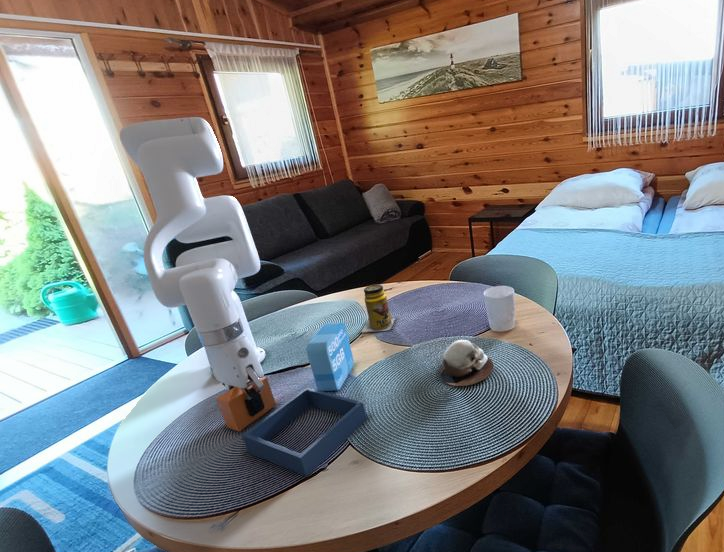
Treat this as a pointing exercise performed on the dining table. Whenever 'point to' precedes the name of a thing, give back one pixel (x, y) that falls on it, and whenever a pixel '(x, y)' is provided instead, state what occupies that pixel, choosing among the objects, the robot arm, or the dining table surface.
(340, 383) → the data package
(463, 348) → the skull
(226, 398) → the block
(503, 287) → the white cup
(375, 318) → the condiment
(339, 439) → the bin
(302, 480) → the dining table surface
